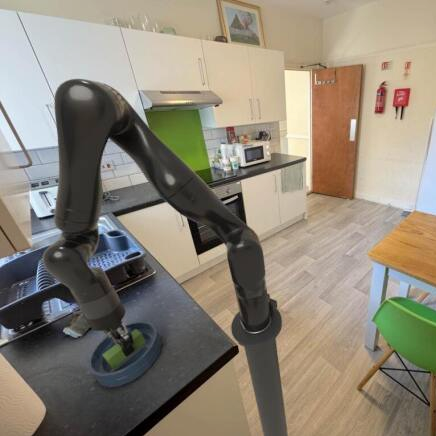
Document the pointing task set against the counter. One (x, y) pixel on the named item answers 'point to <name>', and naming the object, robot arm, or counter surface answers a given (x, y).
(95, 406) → the counter surface
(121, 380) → the bowl
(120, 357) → the bar
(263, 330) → the robot arm
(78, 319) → the crumpled grey bag
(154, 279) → the counter surface
